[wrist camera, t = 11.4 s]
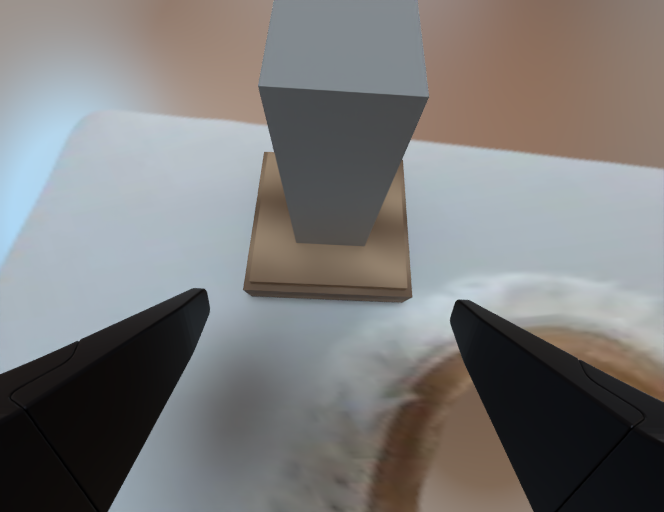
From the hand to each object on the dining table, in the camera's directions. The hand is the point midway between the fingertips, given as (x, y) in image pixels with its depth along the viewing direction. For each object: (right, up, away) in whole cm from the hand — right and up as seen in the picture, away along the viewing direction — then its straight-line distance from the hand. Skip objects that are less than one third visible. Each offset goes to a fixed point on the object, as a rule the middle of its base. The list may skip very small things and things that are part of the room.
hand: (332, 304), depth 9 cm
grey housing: (0, +5, +10) cm, 12 cm away
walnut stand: (0, +4, +13) cm, 14 cm away
